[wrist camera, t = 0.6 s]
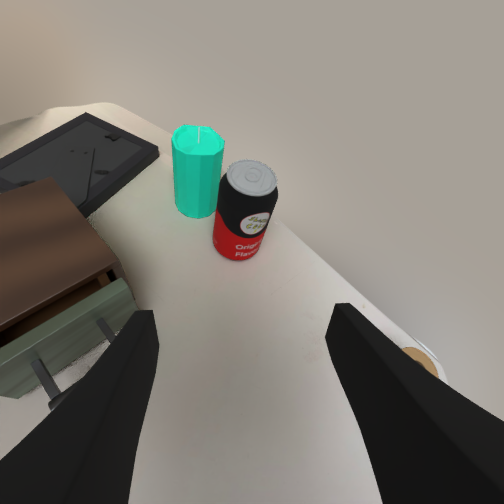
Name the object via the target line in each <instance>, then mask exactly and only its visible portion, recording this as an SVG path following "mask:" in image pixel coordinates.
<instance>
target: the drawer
mask: <svg viewBox="0 0 504 504" xmlns="http://www.w3.org/2000/svg"><path fill="white" fill-rule="evenodd" d="M135 311H138V308H137V305H136V303H135V301H134V298H133V296H132V293H131V291H130V289H129V286H128V285H127V284H126V283H125V281H124V280H123V279H122V278H121V277H120V278H119V279H117V280H115V281H114V282H112V283H111V281H110V280H109V278H108V276H107V274H106V273H104V274H102V275H101V276H99V277H97V278H95V279H93V280H92V281H90V282H88V283H86V284H85V285H83V286H81V287H79V288H77V289H76V290H74V291H72V292H70V293H69V294H67V295H65V296H63V297H61V298H60V299H58V300H56V301H54V302H53V303H51V304H49V305H47V306H45V307H44V308H42V309H40V310H38V311H37V312H35V313H33V314H31V315H29V316H28V317H26V318H24V319H22V320H21V321H19V322H17V323H15V324H14V325H12V326H10V327H8V328H6V329H5V330H3V331H1V332H0V396H3V397H9V398H14V399H19V398H20V397H22V396H23V395H25V394H26V393H27V392H29V391H30V390H32V389H33V388H35V387H36V386H38V385H39V384H42V385H43V387H44V389H45V390H46V392H47V394H48V396H49V397H50V399H51V401H50V402H49V403H48V406H49V408H50V410H51V412H52V411H53V410H54V408H55V407H56V406H57V405H58V404H59V403H60V402H61V401H62V400H63V399H64V398H65V397H66V396H67V395H68V394H69V393H70V392H71V390H72V389H73V388H74V387H75V386H76V385H77V384H78V383H79V381H80V380H81V379H82V378H81V379H80V380H79V381H77V382H76V383H74V384H73V385H72V386H70V387H69V388H68V389H66V390H65V391H63V392H62V393H61V391H60V390H59V388H58V386H57V385H56V383H55V381H54V380H53V378H52V375H54V374H55V373H56V372H58V371H59V370H61V369H62V368H64V367H65V366H67V365H68V364H70V363H71V362H72V361H74V360H75V359H77V358H78V357H80V356H81V355H83V354H84V353H86V352H87V351H88V350H90V349H91V348H93V347H94V346H96V345H97V344H99V343H100V342H101V341H103V340H104V339H106V338H107V339H108V340H109V342H110V343H112V341H113V340H114V339H115V337H116V336H115V334H114V333H115V332H116V331H117V330H119V329H120V328H122V327H123V326H124V325H125V324H126V322H127V321H128V320H129V318H130V317H131V315H132V314H133V313H134V312H135Z"/></svg>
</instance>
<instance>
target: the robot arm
mask: <svg viewBox="0 0 504 504" xmlns="http://www.w3.org/2000/svg"><path fill="white" fill-rule="evenodd" d="M325 339H326V343H327V347H328V350H329V354H330V357H331V360H332V363H333V365H334V368H335V370H336V373H337V375H338V377H339V380H340V382H341V384H342V387H343V389H344V391H345V394H346V396H347V398H348V401H349V403H350V405H351V408H352V410H353V412H354V415H355V417H356V420H357V422H358V425H359V428H360V430H361V434H362V437H363V440H364V443H365V446H366V449H367V452H368V455H369V458H370V462H371V465H372V468H373V471H374V475H375V478H376V481H377V485H378V488H379V492H380V495H381V499H382V503H383V504H504V421H502V420H501V419H499V418H497V417H496V416H494V415H492V414H491V413H489V412H487V411H486V410H484V409H483V408H481V407H479V406H478V405H476V404H475V403H473V402H471V401H470V400H469V399H467V398H466V397H464V396H463V395H461V394H460V393H458V392H457V391H455V390H454V389H452V388H451V387H450V386H448V385H447V384H445V383H444V382H443V381H441V380H440V379H439V378H437V377H436V376H434V375H433V374H432V373H430V372H429V371H428V370H426V369H425V368H424V367H423V366H421V365H420V364H419V363H418V362H416V361H415V360H414V359H413V358H411V357H410V356H409V355H408V354H406V353H405V352H404V351H403V350H402V349H400V348H399V347H398V346H397V345H396V344H395V343H393V342H392V341H391V340H390V339H389V338H388V337H387V336H385V335H384V334H383V333H382V332H381V331H380V330H379V329H378V328H377V327H375V326H374V325H373V324H372V323H371V322H370V321H369V320H368V319H367V318H366V317H365V316H363V315H362V314H361V313H360V312H359V311H358V310H357V309H356V308H355V307H354V306H352V305H351V304H350V303H336V304H335V306H334V310H333V313H332V316H331V319H330V323H329V326H328V329H327V332H326V335H325ZM158 353H159V341H158V336H157V330H156V325H155V320H154V314H153V310H138V311H135V312H134V313H133V314H132V315H131V317H130V318H129V320H128V321H127V322H126V324H125V325H124V327H123V328H122V329H121V331H120V332H119V333H118V335H117V336H116V337H115V339H114V340H113V341H112V343H111V344H110V345H109V347H108V348H107V349H106V350H105V352H104V353H103V354H102V355H101V357H100V358H99V359H98V360H97V362H96V363H95V364H94V365H93V366H92V368H91V369H90V370H89V371H88V372H87V373H86V375H85V376H84V377H83V378H82V379H81V380H80V381H79V383H78V384H77V385H76V386H75V387H74V388H73V389H72V390H71V392H70V393H69V394H68V395H67V396H66V397H65V398H64V399H63V400H62V401H61V402H60V403H59V404H58V405H57V406H56V407H55V408H54V410H53V411H52V412H51V413H50V414H49V415H48V416H47V417H46V418H45V419H44V420H43V421H42V422H41V423H40V424H39V425H37V426H36V427H35V428H34V429H33V430H32V431H31V432H30V433H29V434H28V435H27V436H26V437H25V438H24V439H23V440H22V441H21V442H20V443H19V444H18V445H16V446H15V447H14V448H13V449H12V450H11V451H10V452H9V453H8V454H7V455H6V456H4V457H3V458H2V459H1V460H0V504H128V500H129V494H130V487H131V481H132V475H133V469H134V463H135V457H136V451H137V446H138V442H139V437H140V433H141V429H142V425H143V421H144V417H145V413H146V409H147V405H148V401H149V398H150V394H151V390H152V386H153V382H154V378H155V373H156V367H157V360H158Z"/></svg>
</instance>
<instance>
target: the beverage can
mask: <svg viewBox="0 0 504 504" xmlns="http://www.w3.org/2000/svg"><path fill="white" fill-rule="evenodd" d="M276 184H277V178H276V175H275V173H274V172H273V170H271V168H269V167H268V166H267V165H265V164H263V163H261V162H259V161H255V160H248V159H244V160H239V161H236V162H234V163H232V164H231V165H230V166H229V168H228V170H227V173H226V174H225V175H224V176H223V177H222V179H221V180H220V183H219V190H218V198H217V206H216V215H215V223H214V231H213V243H214V246H215V248H216V249H217V251H218V252H219V253H220V254H221V255H223V256H224V257H226V258H229V259H232V260H245V259H248V258H250V257H252V256H253V255H254V254H255V253H256V252H257V251H258V249H259V247H260V244H261V241H262V239H263V236H264V233H265V231H266V228H267V225H268V223H269V220H270V218H271V215H272V212H273V210H274V207H275V204H276V202H277V199H278V190H277V187H276Z"/></svg>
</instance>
